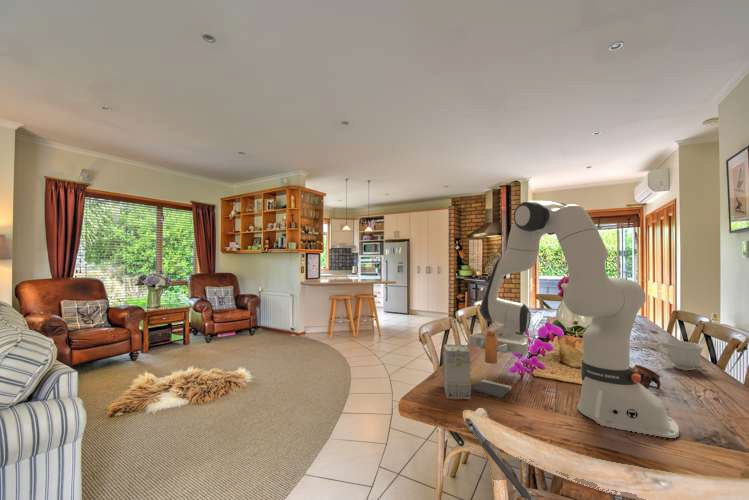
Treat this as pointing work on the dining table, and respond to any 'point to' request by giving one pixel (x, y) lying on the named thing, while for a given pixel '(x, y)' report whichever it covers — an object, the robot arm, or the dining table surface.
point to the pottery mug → (647, 376)
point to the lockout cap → (490, 347)
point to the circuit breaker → (456, 371)
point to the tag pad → (491, 388)
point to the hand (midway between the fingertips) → (490, 347)
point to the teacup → (682, 353)
